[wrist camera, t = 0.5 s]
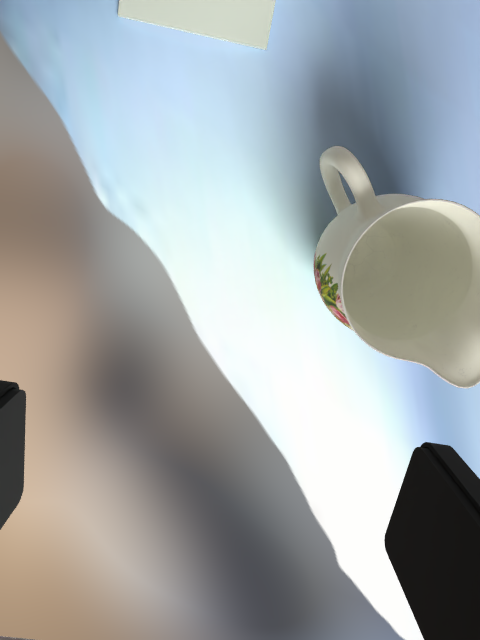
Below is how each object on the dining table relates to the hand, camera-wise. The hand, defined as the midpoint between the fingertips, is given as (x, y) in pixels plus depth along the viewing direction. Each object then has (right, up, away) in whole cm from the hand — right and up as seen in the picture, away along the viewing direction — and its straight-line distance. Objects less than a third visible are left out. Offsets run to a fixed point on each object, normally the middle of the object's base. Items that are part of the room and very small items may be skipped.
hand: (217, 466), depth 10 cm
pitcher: (+11, +10, +29) cm, 33 cm away
